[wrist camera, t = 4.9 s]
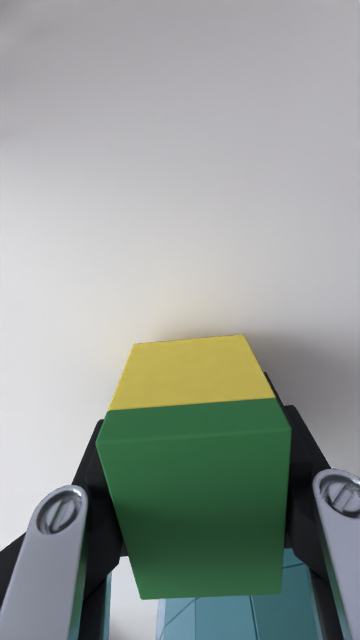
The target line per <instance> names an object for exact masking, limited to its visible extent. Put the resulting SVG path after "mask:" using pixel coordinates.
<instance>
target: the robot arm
mask: <svg viewBox="0 0 360 640" xmlns="http://www.w3.org/2000/svg"><path fill="white" fill-rule="evenodd" d="M263 373H264V375H265V377H266V379H267V381H268V383H269V385H270V387H271V389H272V391H273V393H274V395H275V397H276V399H277V401H278V403H279V405H280V407H281V409H282V411H283V413H284V415H285V417H286V419H287V420H288V422H289V424H290V426H291V428H292V434H291V449H290V464H289V479H288V494H287V510H286V525H285V540H284V547H285V549H290V548H292V549H293V552H294V555H295V556H296V557H297V558H298V559H300V560H301V561H302V562H303V563H304V564H305V569H306V575H307V580H308V586H309V591H310V597H311V602H312V608H313V613H314V618H315V624H316V629H317V635H318V640H360V479H359V478H358V477H356V476H355V475H353V474H351V473H348V472H346V471H343V470H338V469H331V467H330V466H329V464H328V462H327V461H326V459H325V457H324V455H323V454H322V452H321V450H320V449H319V447H318V445H317V443H316V442H315V440H314V438H313V437H312V435H311V433H310V431H309V430H308V428H307V426H306V425H305V423H304V421H303V419H302V418H301V416H300V414H299V413H298V411H297V409H296V408H295V407H294V406H293V405H288V406H283V404H282V402H281V400H280V398H279V396H278V394H277V392H276V390H275V388H274V387H273V385H272V383H271V381H270V379H269V377H268V375H267V373H266V372H263ZM103 422H104V419H100V420H99V421H98V423H97V424H96V427H95V429H94V432H93V434H92V436H91V439H90V441H89V444H88V446H87V448H86V451H85V453H84V456H83V458H82V460H81V463H80V465H79V467H78V470H77V472H76V475H75V477H74V479H73V482H72V484H71V485H67V486H63V487H61V488H58V489H56V490H54V491H53V492H51V493H50V494H48V495H47V496H46V497H45V498H44V499H43V500H42V501H41V502H40V503H39V505H38V506H37V507H36V509H35V511H34V513H33V515H32V517H31V519H30V522H29V525H28V528H27V532H25V533H24V534H23V535H21V536H20V537H19V538H17V539H16V540H15V541H14V542H12V543H11V544H10V545H8V546H7V547H6V548H4V549H3V550H2V551H0V640H108V636H109V616H110V596H111V576H112V572H111V571H112V570H113V569H114V568H115V567H116V566H117V565H118V564H119V560H120V557H123V556H128V553H127V550H126V546H125V543H124V539H123V536H122V533H121V529H120V526H119V522H118V519H117V515H116V512H115V509H114V505H113V502H112V498H111V495H110V492H109V488H108V485H107V481H106V478H105V474H104V471H103V468H102V464H101V461H100V457H99V454H98V450H97V447H96V440H97V437H98V434H99V432H100V429H101V427H102V424H103Z"/></svg>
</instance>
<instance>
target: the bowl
mask: <svg viewBox="0 0 360 640" xmlns="http://www.w3.org/2000/svg"><path fill="white" fill-rule="evenodd" d="M155 640H318V635H317V629H316V624H315V618H314V613H313V608H312V602H311V597H310V591H309V586H308V580H307V575H306V569H305V564H304V563H303V562H302V561H301V560H300V559H298V558H297V557H296V556H295V555H294V552H293V549H292V548H290V549H285V547H284V555H283V570H282V585H281V593H280V594H273V595H248V596H222V597H197V598H172V599H159V602H158V614H157V626H156V638H155Z"/></svg>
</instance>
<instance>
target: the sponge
mask: <svg viewBox="0 0 360 640" xmlns="http://www.w3.org/2000/svg"><path fill="white" fill-rule="evenodd" d="M291 434H292V428H291V426H290V424H289V422H288V420H287V419H286V417H285V415H284V413H283V411H282V409H281V407H280V405H279V403H278V401H277V399H276V397H275V395H274V393H273V391H272V389H271V387H270V385H269V383H268V381H267V379H266V377H265V375H264V373H263V371H262V369H261V367H260V365H259V363H258V361H257V359H256V357H255V355H254V353H253V351H252V349H251V347H250V346H249V344H248V342H247V340H246V338H245V336H244V335H243V334H241V335H230V336H219V337H207V338H196V339H185V340H173V341H162V342H151V343H139V344H134V345H133V347H132V349H131V352H130V355H129V357H128V360H127V362H126V365H125V367H124V370H123V372H122V375H121V378H120V380H119V383H118V385H117V388H116V390H115V393H114V395H113V398H112V401H111V403H110V406H109V408H108V412H107V414H106V416H105V419H104V422H103V424H102V427H101V429H100V432H99V434H98V437H97V440H96V447H97V450H98V454H99V457H100V461H101V464H102V468H103V471H104V474H105V478H106V481H107V485H108V488H109V492H110V495H111V498H112V502H113V505H114V509H115V512H116V515H117V519H118V522H119V526H120V529H121V533H122V536H123V539H124V543H125V546H126V550H127V553H128V556H129V560H130V563H131V567H132V570H133V574H134V577H135V580H136V584H137V587H138V591H139V594H140V598H141V599H142V600H146V599H172V598H197V597H222V596H248V595H273V594H280V593H281V585H282V570H283V555H284V540H285V525H286V510H287V494H288V479H289V464H290V449H291Z"/></svg>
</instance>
